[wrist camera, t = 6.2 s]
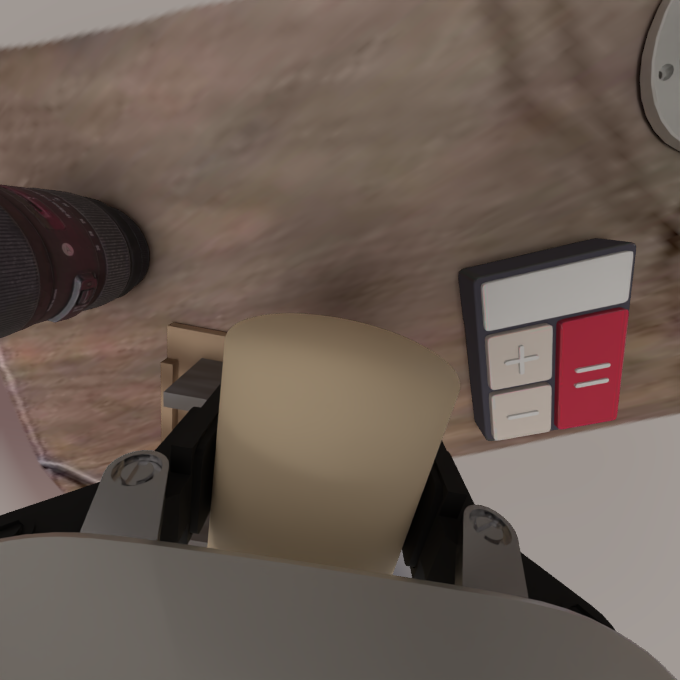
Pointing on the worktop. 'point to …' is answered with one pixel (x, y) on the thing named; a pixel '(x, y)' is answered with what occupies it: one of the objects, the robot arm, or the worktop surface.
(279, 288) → the worktop surface
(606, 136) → the worktop surface
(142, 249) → the camera lens
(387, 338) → the beige cylinder
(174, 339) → the roll holder
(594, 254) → the calculator
